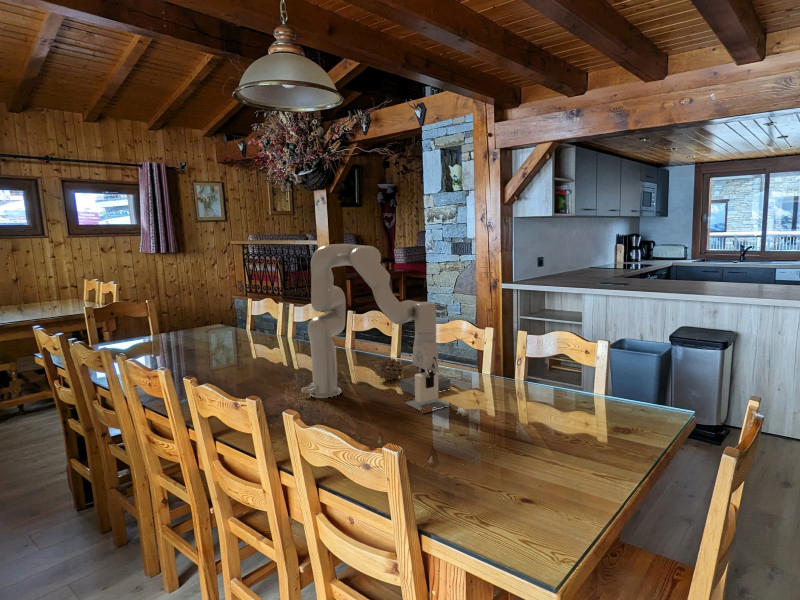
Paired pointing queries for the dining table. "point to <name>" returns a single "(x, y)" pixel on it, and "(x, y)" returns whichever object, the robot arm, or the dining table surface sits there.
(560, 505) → the dining table surface
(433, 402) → the mat
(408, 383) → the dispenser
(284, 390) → the dining table surface
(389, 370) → the pine cone
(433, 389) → the cream upright block
